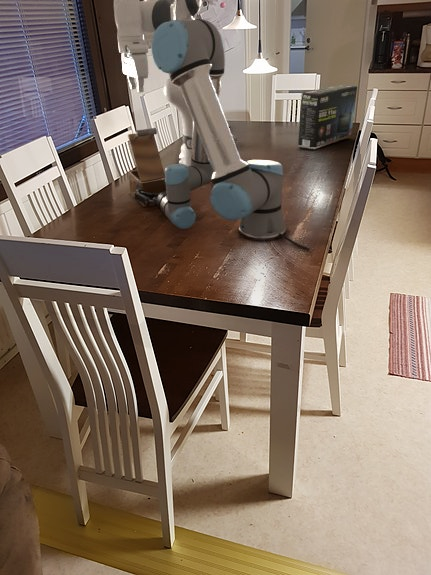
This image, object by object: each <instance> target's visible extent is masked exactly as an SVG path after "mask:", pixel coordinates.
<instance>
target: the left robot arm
mask: <svg viewBox="0 0 431 575" xmlns="http://www.w3.org/2000/svg"><path fill="white" fill-rule="evenodd" d="M201 7H202V0H113V11H114V12H113V13H114V14H113V15H114V21H115V25H116V29H117V32H116V38H117V45H118V52H119V53H120V54H121V56H120V57H121V67H122V68H121V69H122V73H123V74H124V75H126V76H127V81H128V84H129V88H130V90H136V89H137V92H138V93H140V94H141V93H143V92H145V91H144V89H145V88H144V84H145V79H148V77H149V58H148V53H149V45H148V44H147V43H146V40H145V34H154V33H155V31H156V29H157V28H158V27H159V26H160V25H161V24H163V23H165V22H170V21H172V20H195V19H197V17H198V14H199V12H200V11H201ZM135 79H136V80H135ZM136 82H137V84H136ZM221 92H222V82H221V81H220V89H219V96H220V95H221ZM163 95H164V97H165V99H166V100H167V102H169V103H171V104H172V105H173V106H174V107H175V108H176V110H177V111H178V113H179V115H180V118H181V125H182V137H181V138H182V144H181V146H180V154H179V159H180V160H179V161H178V164H184V165H187V166H191V155H192V133H193V119H192V117H191V114H190V112H189V109H188V107H187V104H186V102H185V99H184V97H183V94H182V92H181V89H180V88H179V87H178V86H176V85H174V84H172V82H171V79H170V78H167V79H166V80H165V81H164V84H163Z"/></svg>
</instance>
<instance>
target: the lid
mask: <svg viewBox="0 0 431 575" xmlns="http://www.w3.org/2000/svg"><path fill="white" fill-rule="evenodd" d="M157 133H158V130H157V128H156V127H151V128H144V129H138V130H135V132H134V133H129V134H128V135H127V138H128V141H129V145H130V148H131V153H132V155H133V160H134V164H135V167H136V170H137V171H138V174H139V178H140V182H144V181H150V180H155V179H161V178H165V169H164V166H163V163H162V159H161V156H160V152H159V148H158V144H157V140H156V137H155V135H158V134H157Z"/></svg>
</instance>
